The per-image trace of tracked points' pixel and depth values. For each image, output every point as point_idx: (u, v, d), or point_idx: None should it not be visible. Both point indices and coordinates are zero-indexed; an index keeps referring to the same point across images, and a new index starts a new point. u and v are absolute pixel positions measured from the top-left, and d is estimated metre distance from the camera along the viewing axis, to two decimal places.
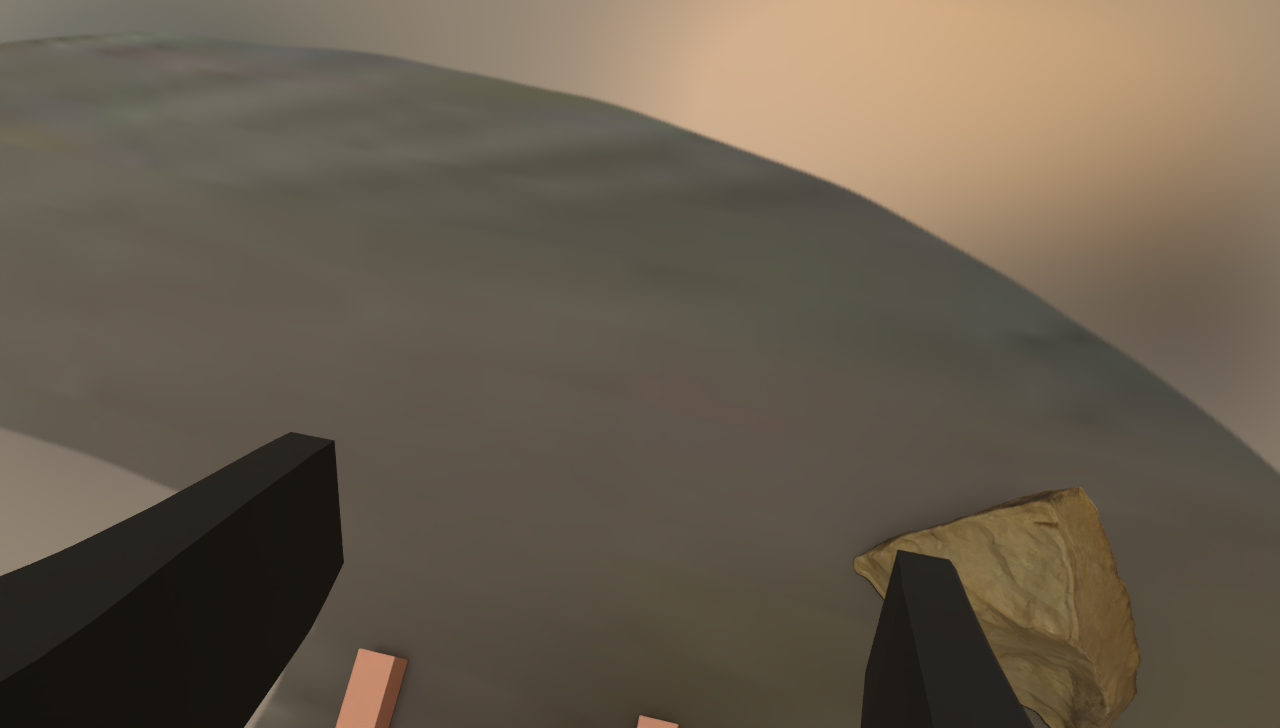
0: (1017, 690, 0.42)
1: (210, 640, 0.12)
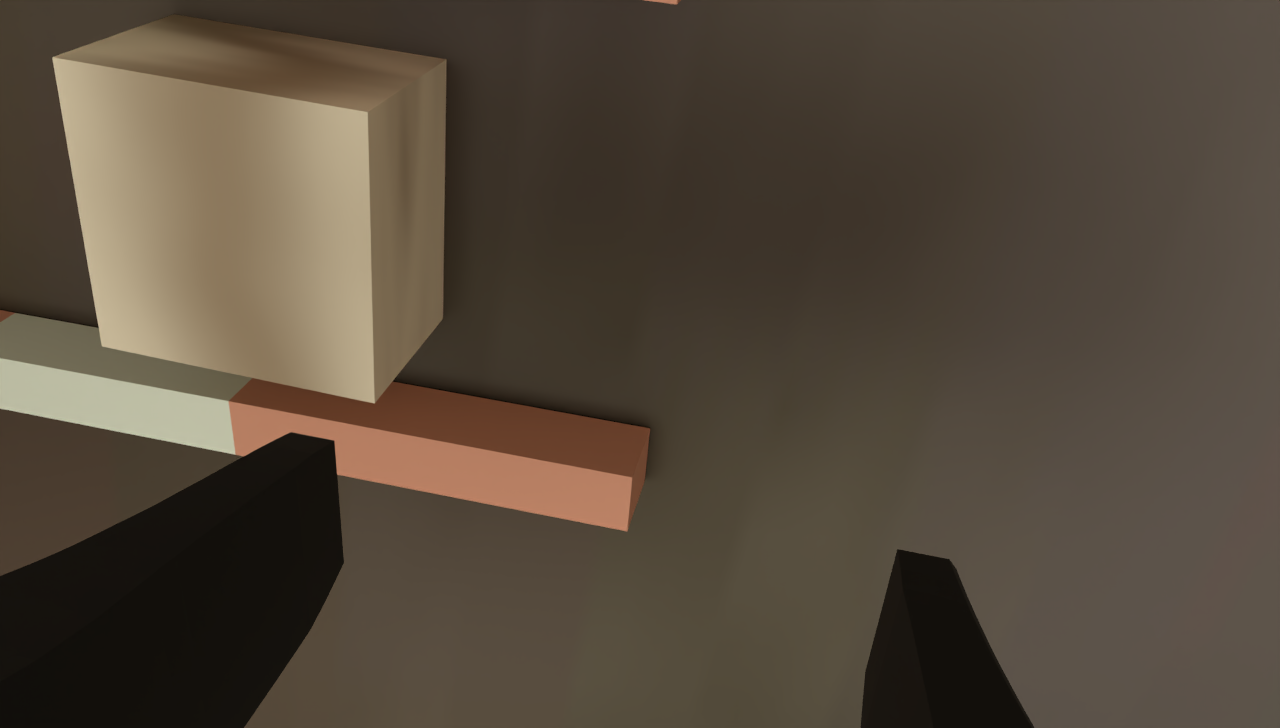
0: None
1: (210, 640, 0.12)
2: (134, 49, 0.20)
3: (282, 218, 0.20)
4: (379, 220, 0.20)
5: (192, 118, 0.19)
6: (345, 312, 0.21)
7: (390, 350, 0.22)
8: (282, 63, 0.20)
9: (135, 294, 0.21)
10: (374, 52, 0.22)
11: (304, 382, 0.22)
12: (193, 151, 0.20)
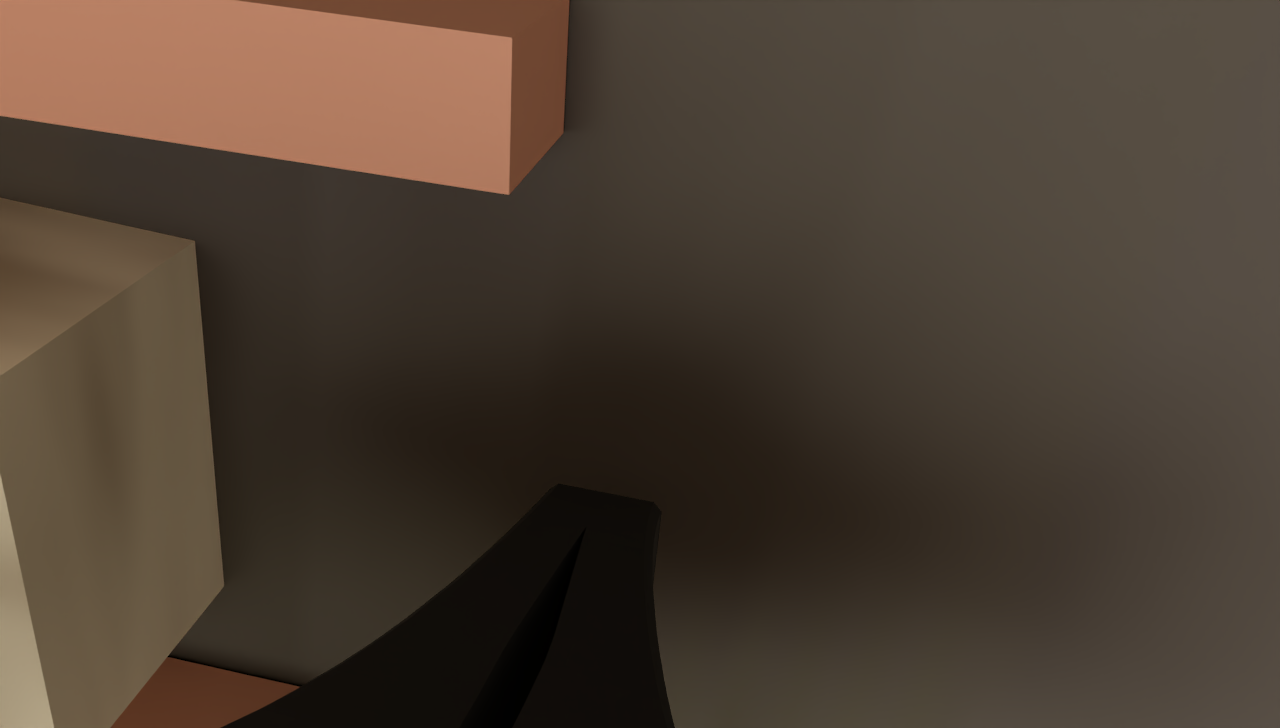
0: None
1: None
2: None
3: None
4: (40, 533, 0.12)
5: None
6: (0, 664, 0.13)
7: (98, 692, 0.14)
8: None
9: None
10: (79, 228, 0.14)
11: None
12: None
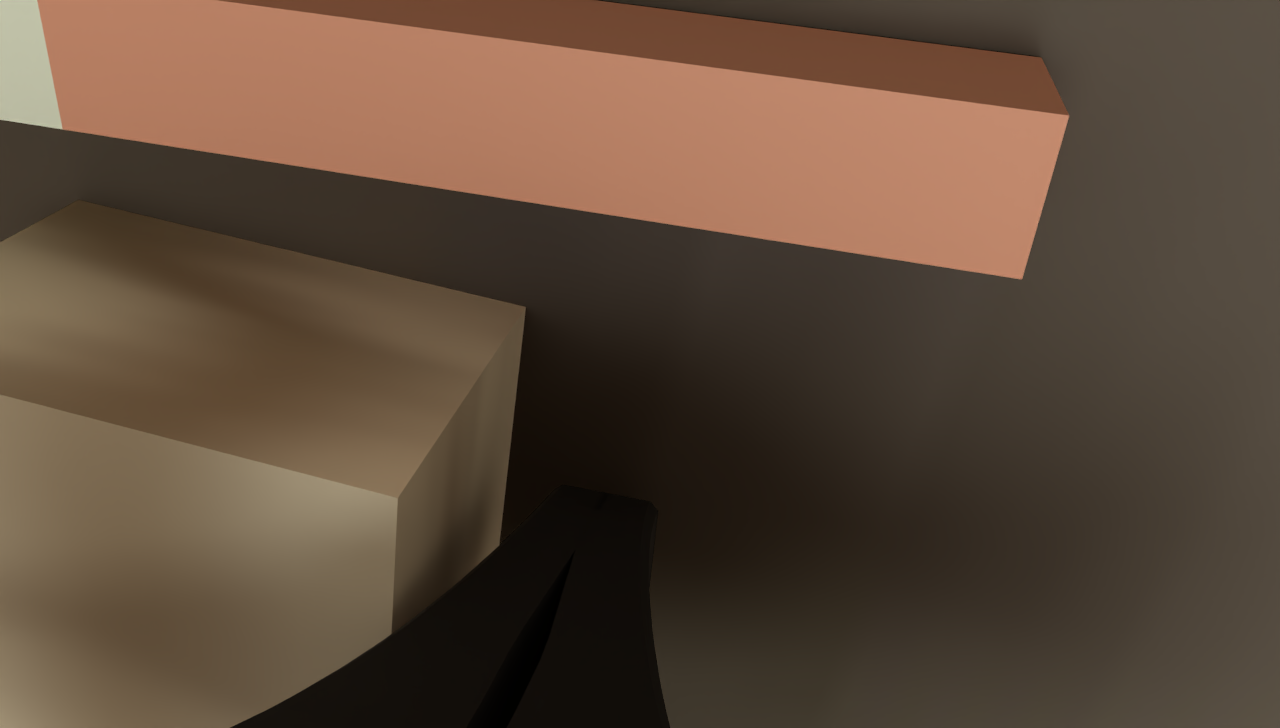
0: None
1: None
2: None
3: (230, 630, 0.11)
4: None
5: (69, 467, 0.10)
6: None
7: None
8: (242, 341, 0.12)
9: None
10: (401, 299, 0.13)
11: None
12: (73, 517, 0.11)
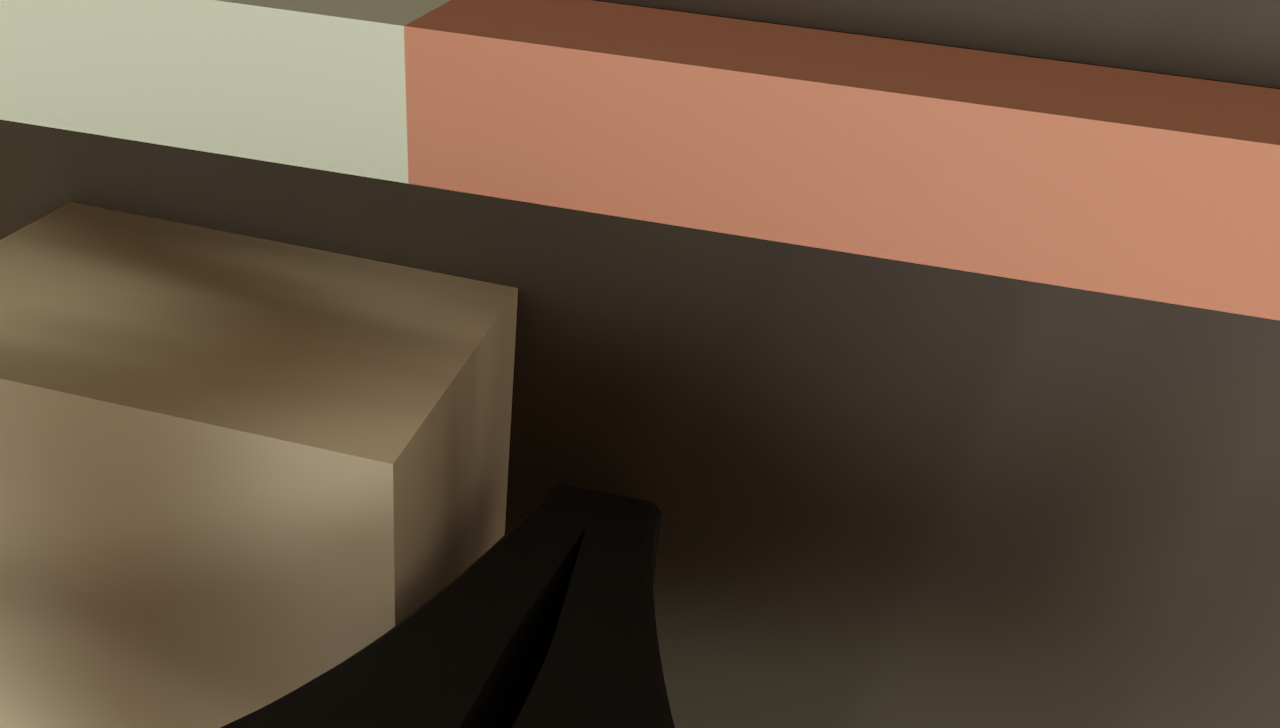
0: None
1: None
2: None
3: (237, 606, 0.11)
4: (409, 611, 0.11)
5: (72, 449, 0.11)
6: None
7: None
8: (240, 323, 0.12)
9: None
10: (398, 279, 0.13)
11: None
12: (78, 500, 0.11)
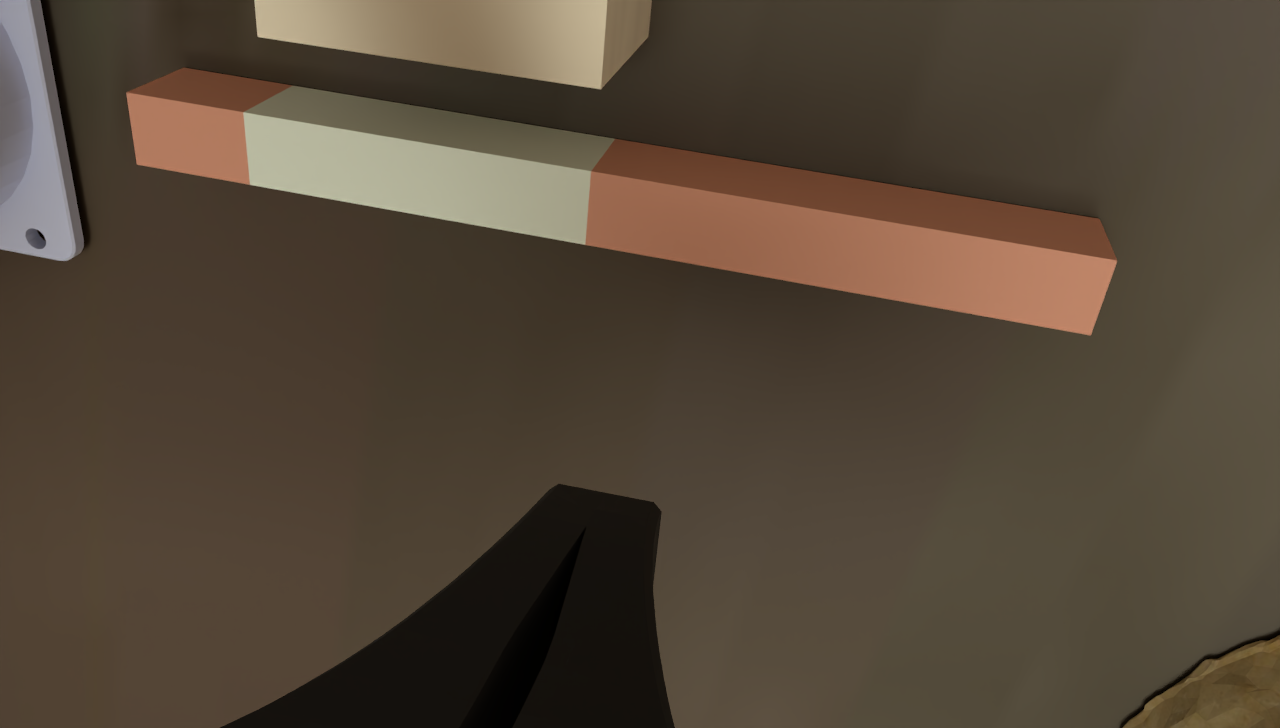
0: None
1: None
2: None
3: None
4: None
5: None
6: None
7: (615, 29, 0.18)
8: None
9: None
10: None
11: (512, 66, 0.18)
12: None
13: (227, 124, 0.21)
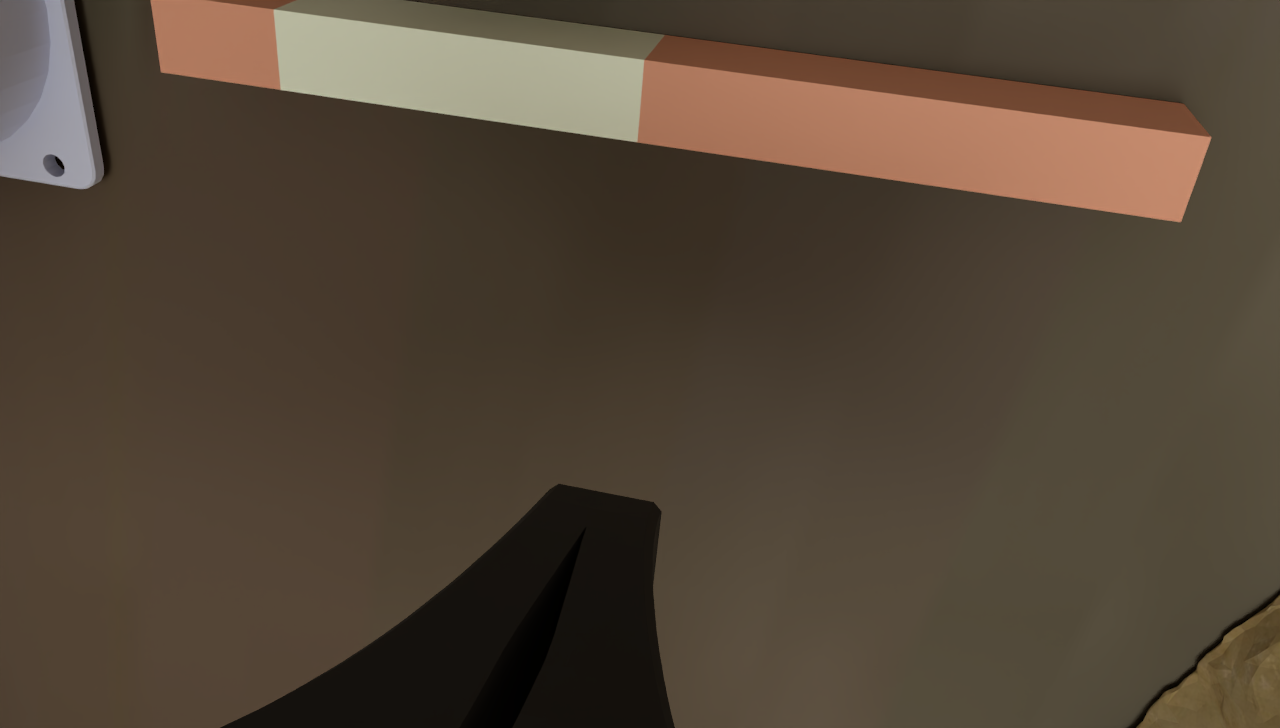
0: None
1: None
2: None
3: None
4: None
5: None
6: None
7: None
8: None
9: None
10: None
11: None
12: None
13: (256, 24, 0.20)
